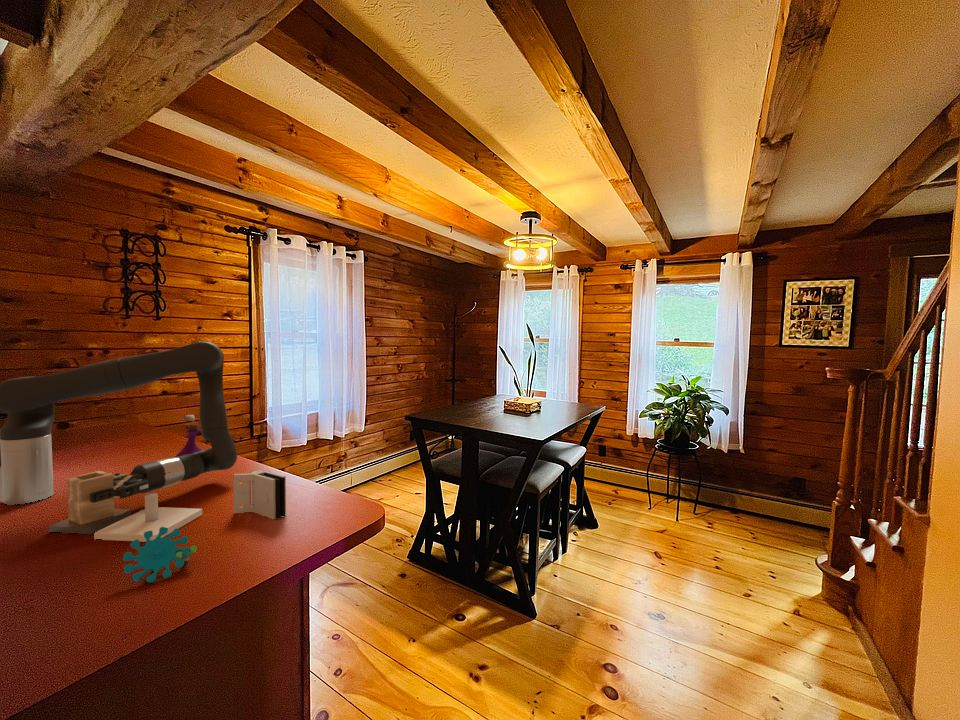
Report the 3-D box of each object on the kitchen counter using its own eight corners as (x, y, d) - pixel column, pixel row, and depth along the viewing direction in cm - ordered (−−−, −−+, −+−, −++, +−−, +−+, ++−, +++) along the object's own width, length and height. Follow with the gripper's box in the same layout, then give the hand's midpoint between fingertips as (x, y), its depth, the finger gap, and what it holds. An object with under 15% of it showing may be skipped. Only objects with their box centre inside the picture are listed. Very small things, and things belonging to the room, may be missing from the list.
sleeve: (68, 520, 95) (67, 478, 95) (100, 510, 101) (99, 470, 100) (82, 525, 93) (80, 482, 93) (114, 514, 99) (113, 474, 98)
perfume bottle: (209, 465, 142) (208, 414, 141) (187, 471, 135) (186, 417, 134) (193, 462, 144) (192, 412, 143) (171, 469, 137) (170, 416, 136)
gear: (113, 584, 71) (131, 527, 77) (117, 594, 75) (134, 539, 81) (190, 576, 76) (201, 523, 83) (190, 586, 80) (200, 535, 86)
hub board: (94, 539, 90) (93, 506, 89) (149, 512, 104) (148, 483, 103) (154, 542, 89) (154, 508, 88) (202, 514, 103) (201, 485, 102)
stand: (49, 532, 92) (47, 491, 92) (93, 513, 102) (92, 476, 102) (90, 534, 92) (89, 493, 91) (131, 515, 102) (130, 477, 101)
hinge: (233, 513, 104) (232, 474, 103) (250, 505, 109) (249, 468, 109) (277, 520, 100) (277, 480, 100) (293, 512, 105) (293, 473, 105)
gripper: (142, 457, 112) (64, 475, 98) (174, 464, 107) (97, 484, 92) (143, 484, 113) (65, 505, 98) (175, 492, 107) (98, 516, 92)
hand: (81, 495), depth 95 cm, fingers open, 8 cm apart
